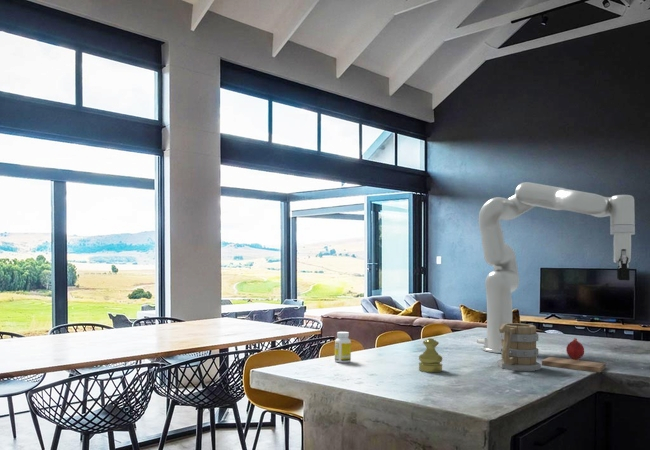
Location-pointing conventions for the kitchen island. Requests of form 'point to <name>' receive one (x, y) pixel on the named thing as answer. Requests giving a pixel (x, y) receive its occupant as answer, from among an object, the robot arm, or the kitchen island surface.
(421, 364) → the olive chess piece
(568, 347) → the red round fruit
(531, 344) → the tankard
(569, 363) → the cutting board
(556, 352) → the kitchen island surface
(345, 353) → the supplement bottle
